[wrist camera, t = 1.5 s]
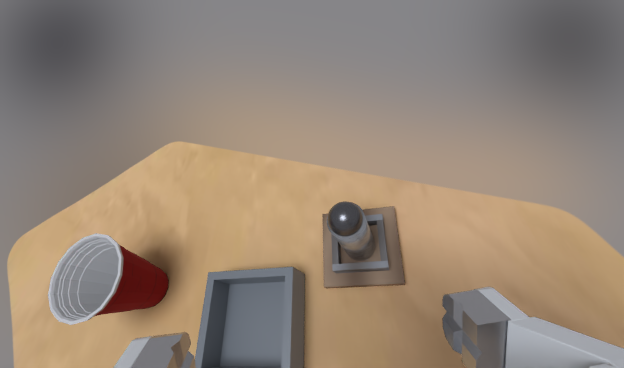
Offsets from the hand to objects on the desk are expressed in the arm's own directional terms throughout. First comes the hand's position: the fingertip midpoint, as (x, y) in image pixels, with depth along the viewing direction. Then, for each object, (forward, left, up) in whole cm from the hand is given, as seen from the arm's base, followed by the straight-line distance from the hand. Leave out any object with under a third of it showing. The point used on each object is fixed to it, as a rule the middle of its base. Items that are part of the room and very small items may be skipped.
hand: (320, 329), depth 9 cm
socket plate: (+2, -11, -30) cm, 32 cm away
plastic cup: (+35, -7, -30) cm, 47 cm away
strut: (+2, -11, -29) cm, 31 cm away
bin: (+16, -2, -30) cm, 34 cm away
